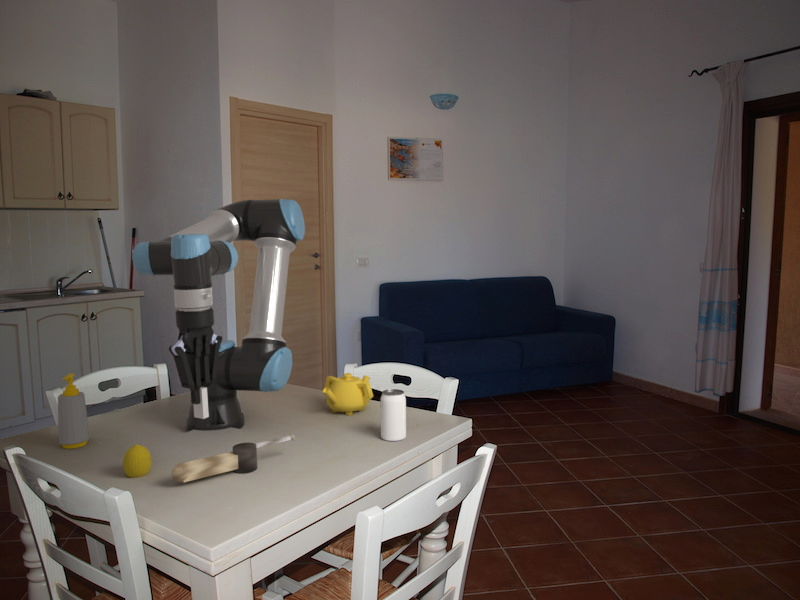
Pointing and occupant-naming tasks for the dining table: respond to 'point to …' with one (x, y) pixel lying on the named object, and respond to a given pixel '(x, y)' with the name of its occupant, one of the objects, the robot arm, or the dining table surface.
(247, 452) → the tan long two-tone device
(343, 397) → the teapot
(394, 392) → the can
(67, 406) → the soap bottle
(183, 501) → the dining table surface
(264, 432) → the dining table surface
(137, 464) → the lemon
